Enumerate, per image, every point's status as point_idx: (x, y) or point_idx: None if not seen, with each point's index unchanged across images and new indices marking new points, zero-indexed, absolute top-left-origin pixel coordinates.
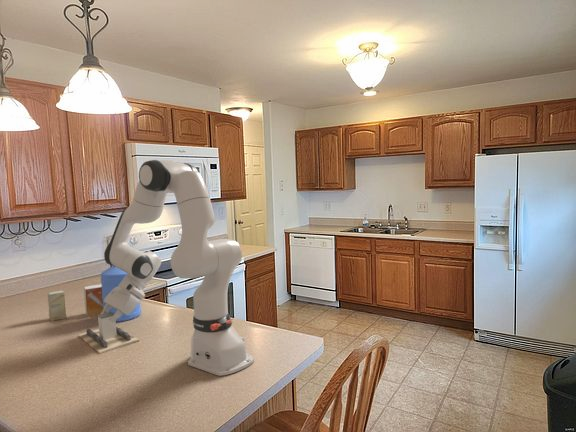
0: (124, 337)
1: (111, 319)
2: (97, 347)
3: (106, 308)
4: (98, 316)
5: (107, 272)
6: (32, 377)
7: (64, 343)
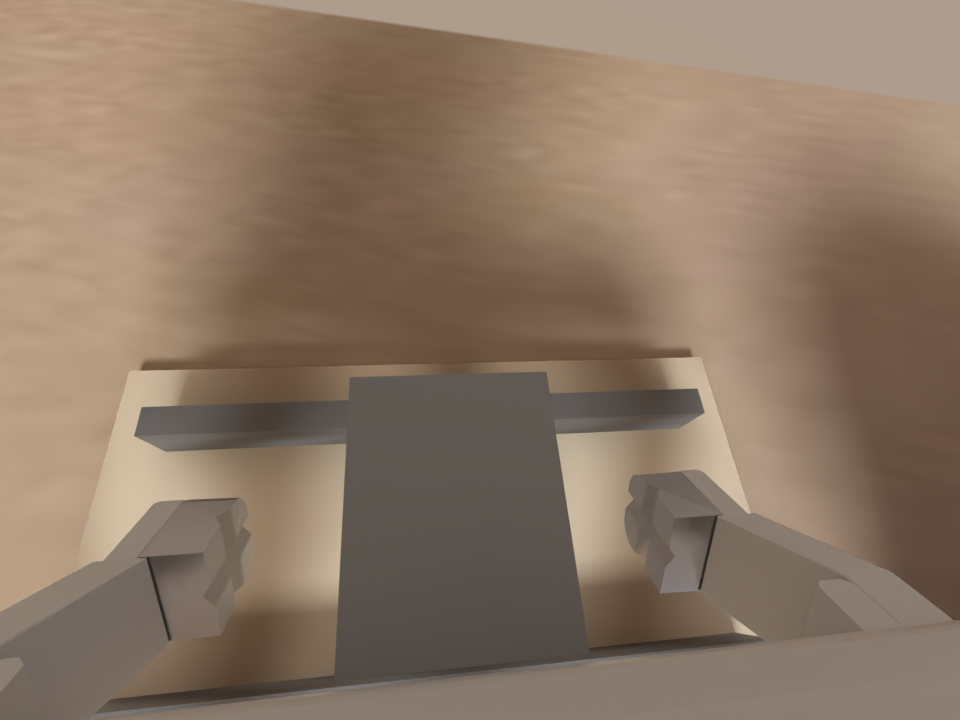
0: (220, 689)
1: (149, 519)
2: (256, 386)
3: (797, 594)
4: (510, 380)
5: None
6: (189, 63)
7: (593, 259)
